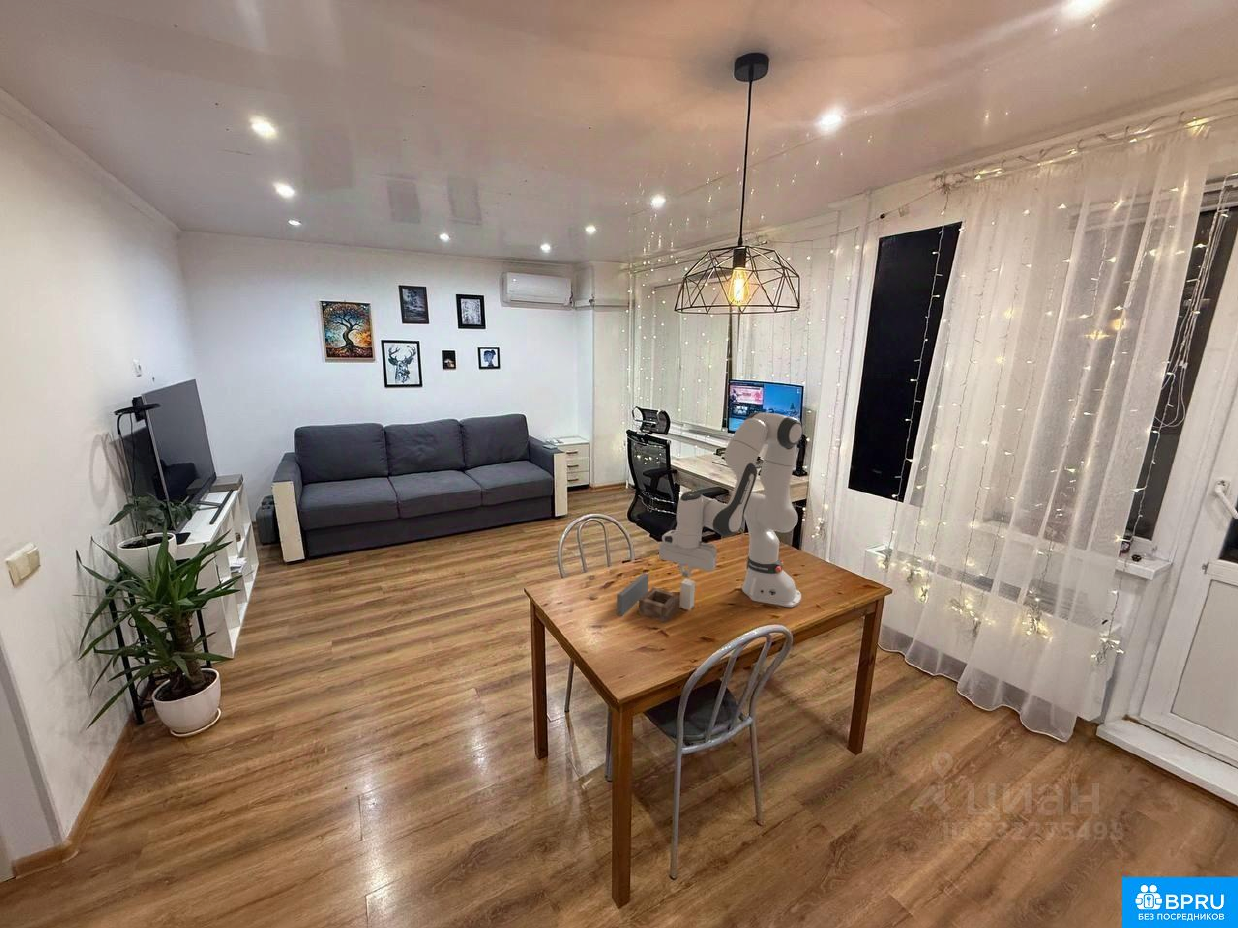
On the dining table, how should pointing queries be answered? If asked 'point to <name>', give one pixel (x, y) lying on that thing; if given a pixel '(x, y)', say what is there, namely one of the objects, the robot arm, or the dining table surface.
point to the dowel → (687, 594)
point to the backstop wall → (632, 594)
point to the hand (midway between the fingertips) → (685, 576)
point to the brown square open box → (659, 604)
